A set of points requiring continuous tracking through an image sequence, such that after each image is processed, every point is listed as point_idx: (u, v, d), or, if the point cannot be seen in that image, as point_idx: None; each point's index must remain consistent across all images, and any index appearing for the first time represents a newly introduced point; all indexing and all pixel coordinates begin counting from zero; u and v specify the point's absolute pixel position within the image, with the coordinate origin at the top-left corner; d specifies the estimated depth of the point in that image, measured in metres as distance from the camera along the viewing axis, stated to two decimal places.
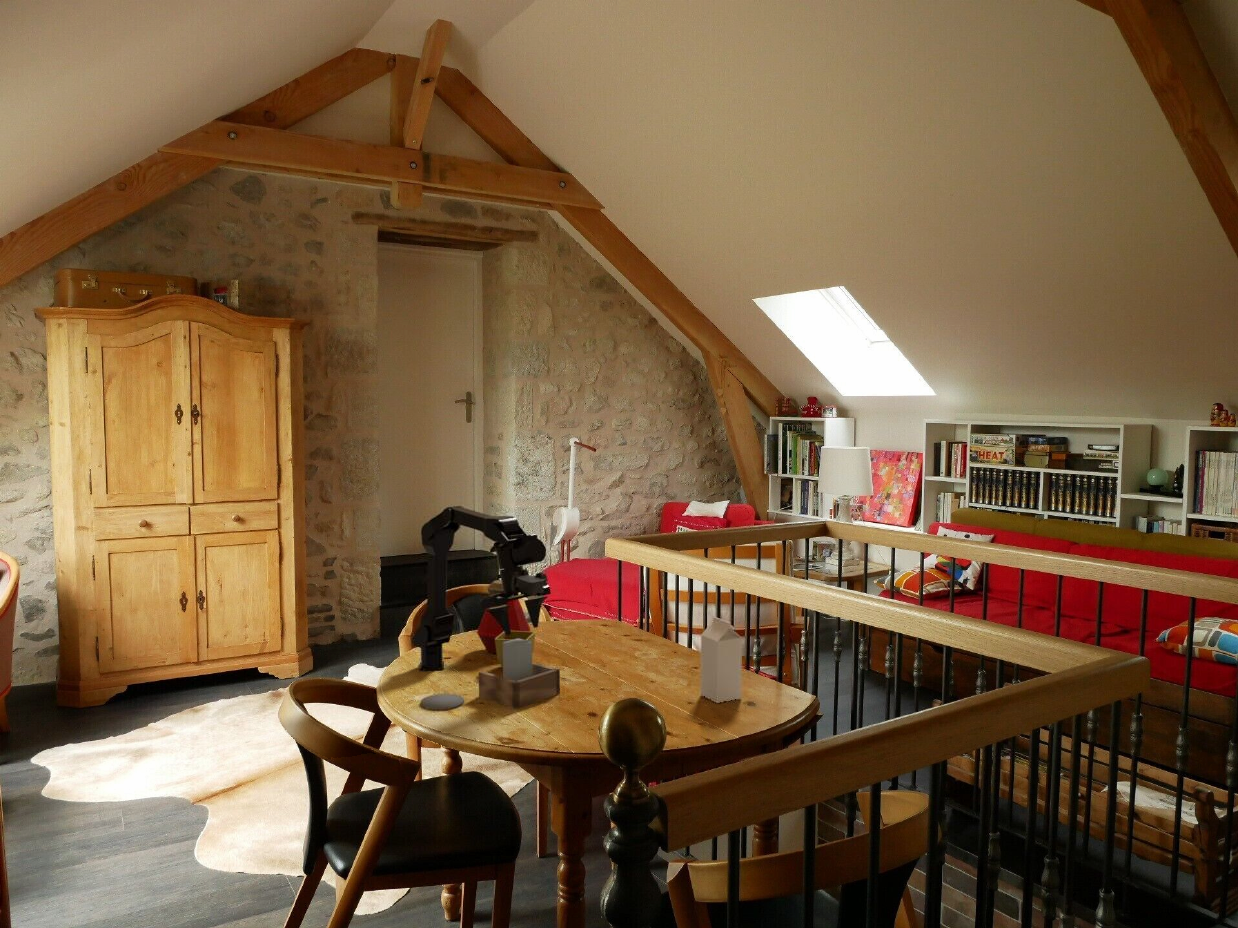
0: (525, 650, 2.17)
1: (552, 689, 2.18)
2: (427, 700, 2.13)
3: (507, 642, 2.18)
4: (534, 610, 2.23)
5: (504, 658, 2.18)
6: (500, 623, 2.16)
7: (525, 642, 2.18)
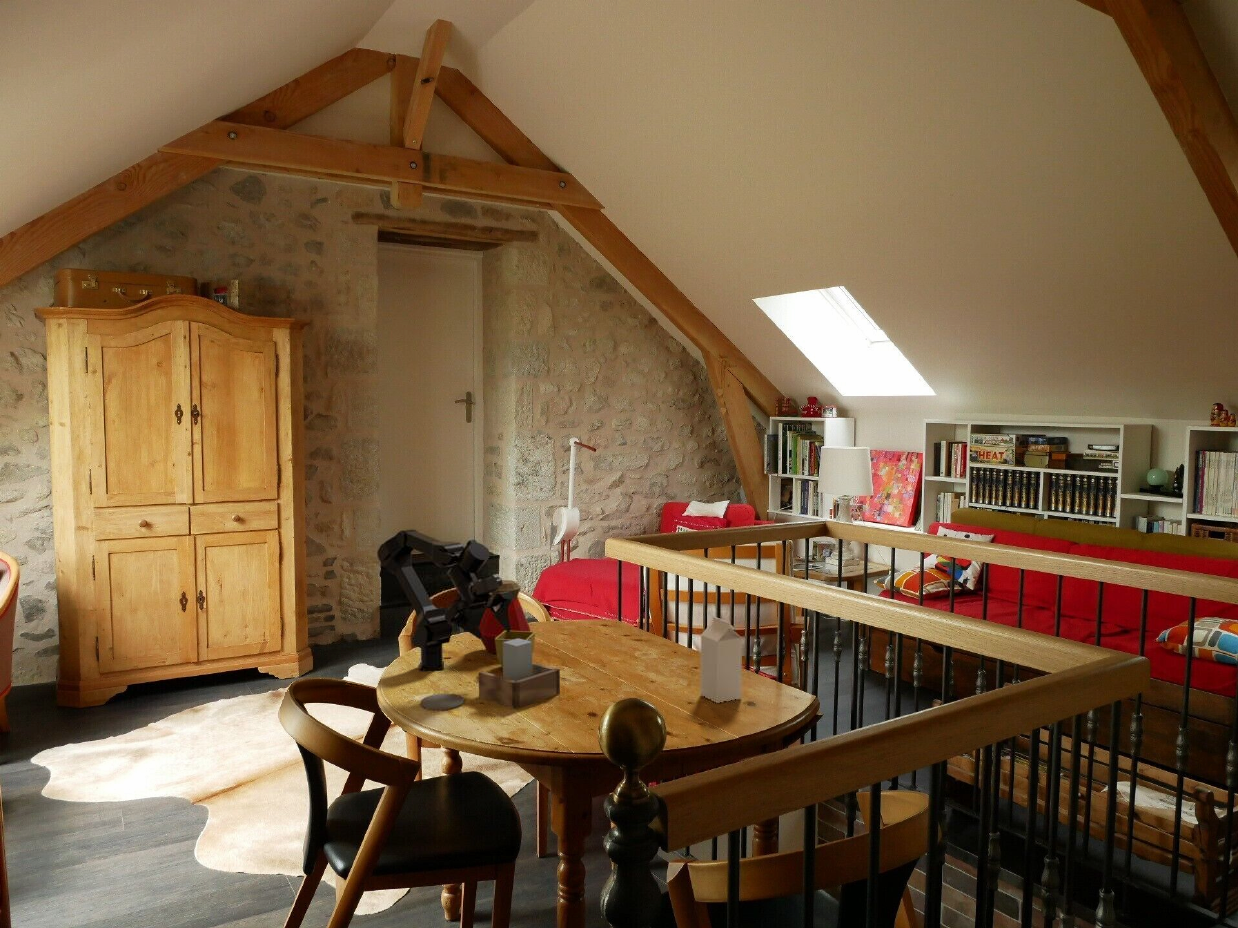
0: (525, 650, 2.17)
1: (552, 689, 2.18)
2: (427, 700, 2.13)
3: (507, 642, 2.18)
4: (502, 616, 2.29)
5: (504, 658, 2.18)
6: (470, 630, 2.21)
7: (525, 642, 2.18)
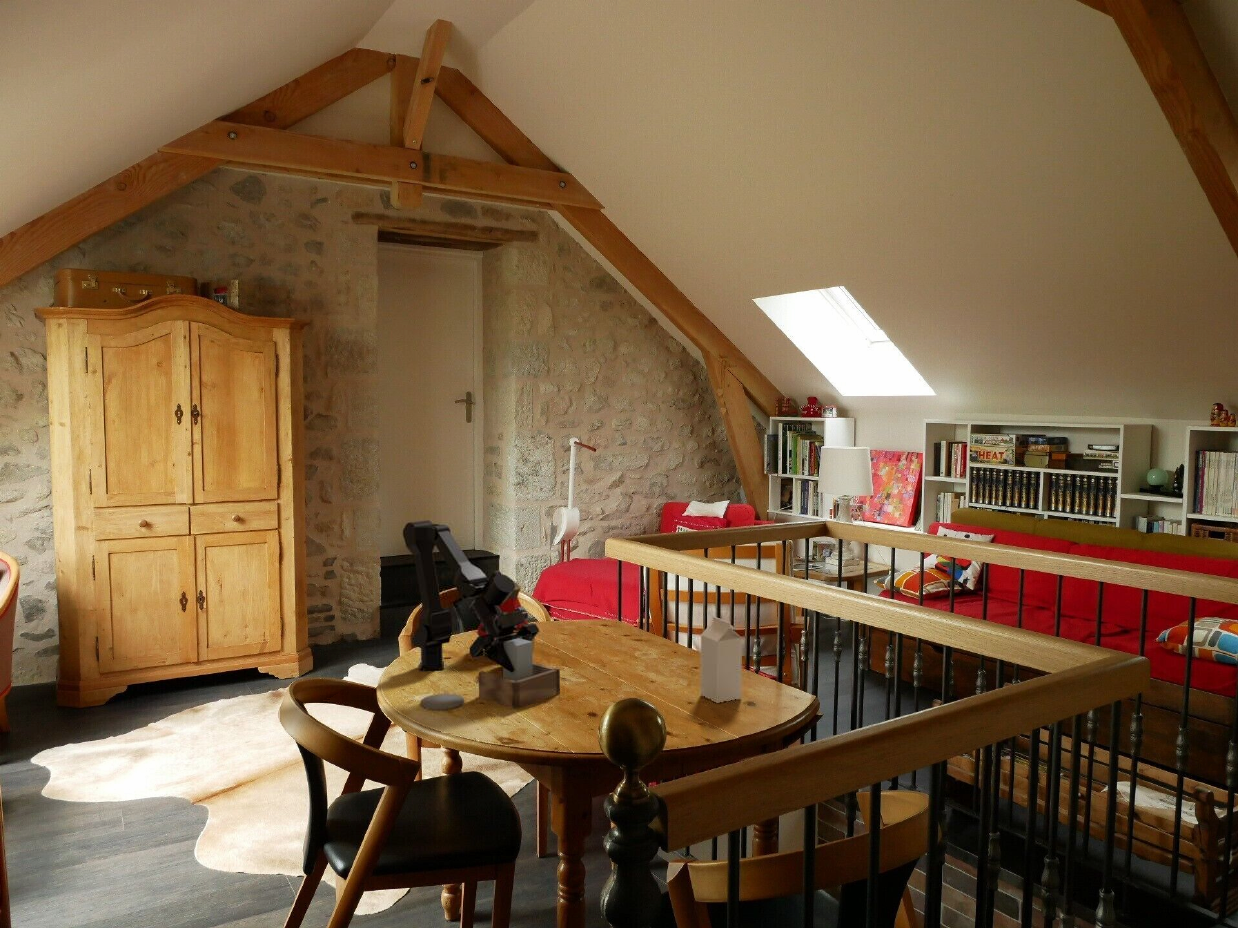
0: (525, 650, 2.17)
1: (552, 689, 2.18)
2: (427, 700, 2.13)
3: (507, 642, 2.18)
4: None
5: None
6: (501, 663, 2.17)
7: (525, 642, 2.18)
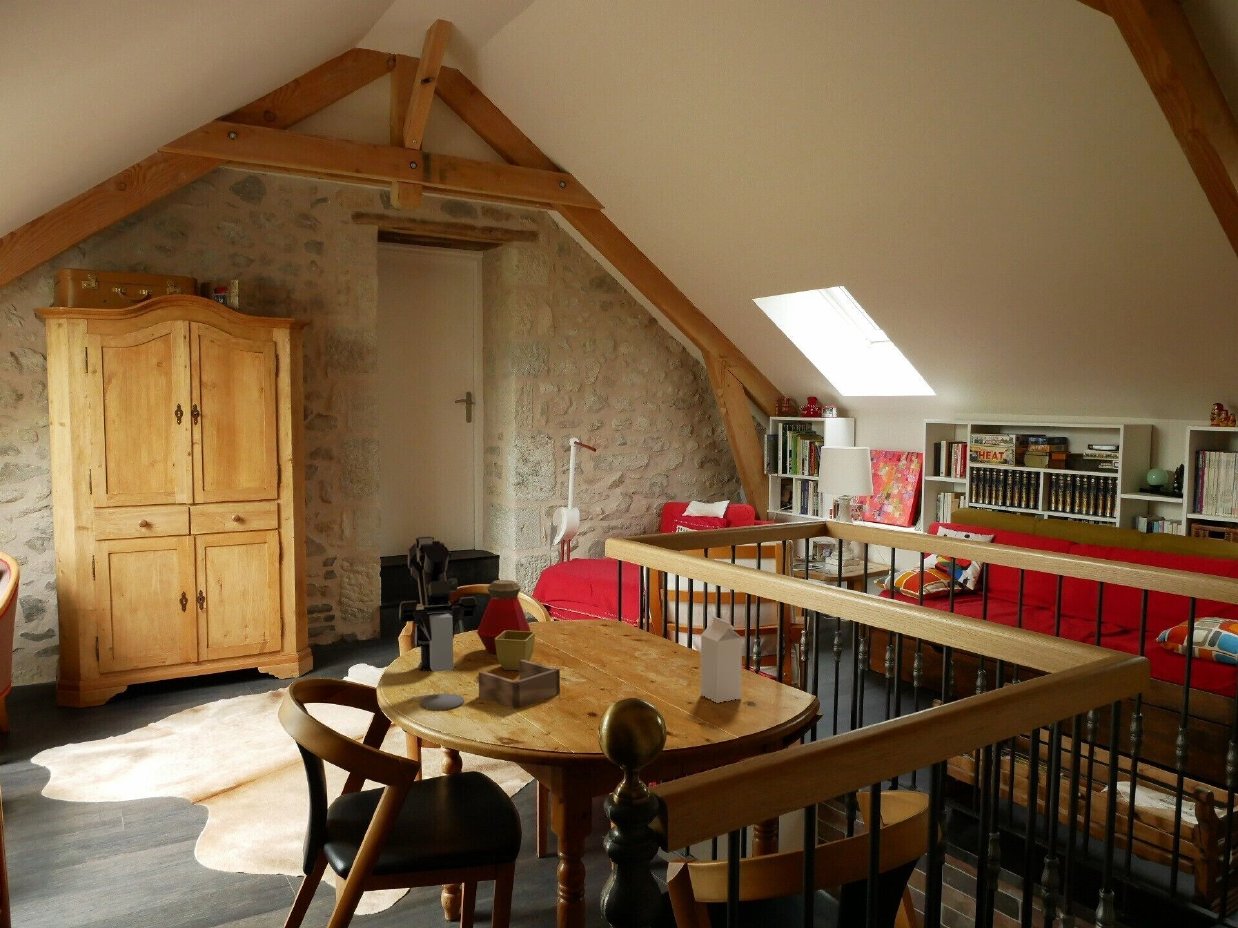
0: (443, 624, 2.19)
1: (552, 689, 2.18)
2: (427, 700, 2.13)
3: (432, 615, 2.22)
4: None
5: None
6: (424, 631, 2.22)
7: (445, 616, 2.20)
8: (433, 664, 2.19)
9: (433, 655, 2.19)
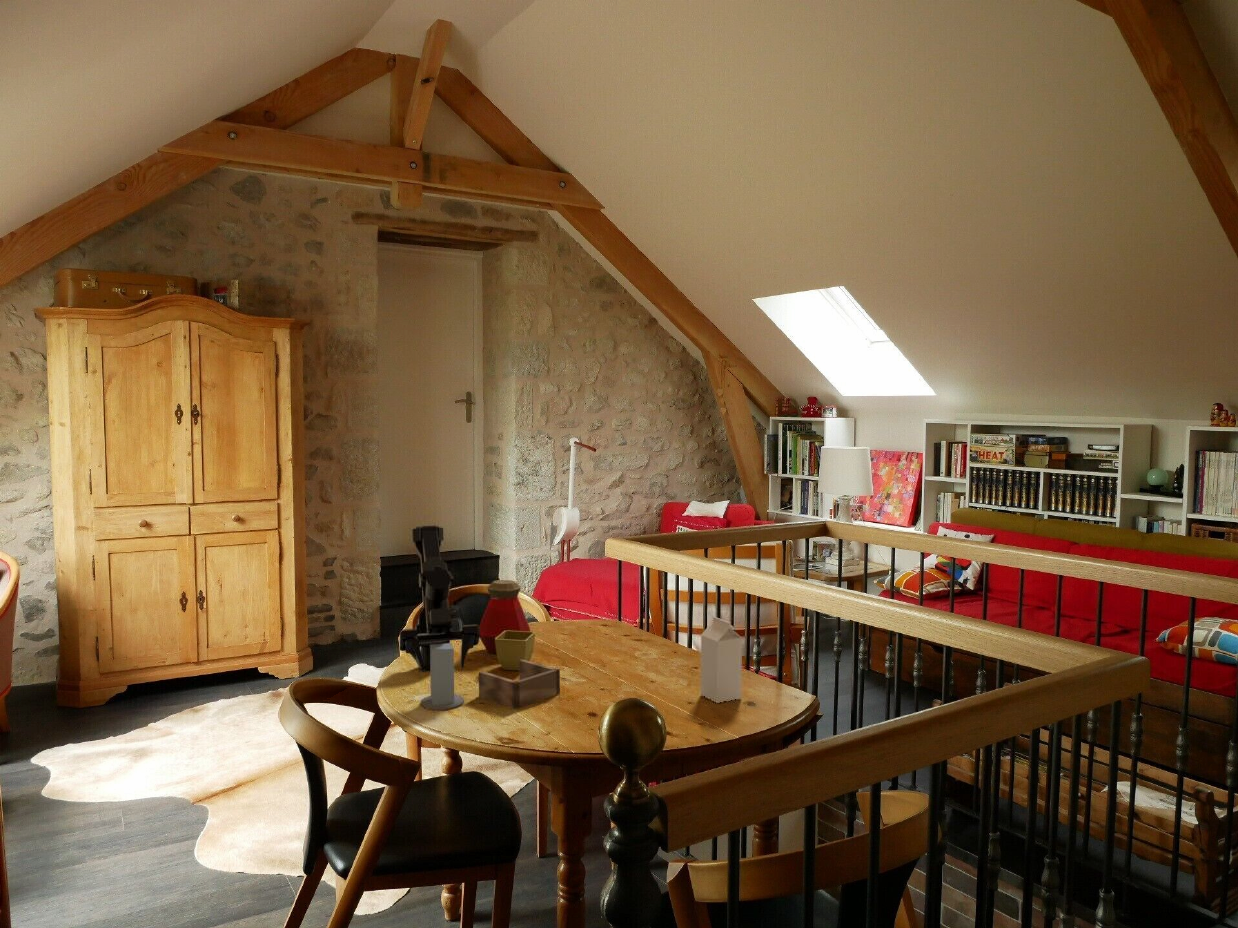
0: (444, 655, 2.10)
1: (552, 689, 2.18)
2: (427, 700, 2.13)
3: (433, 645, 2.13)
4: (461, 650, 2.15)
5: (430, 661, 2.14)
6: (416, 661, 2.12)
7: (447, 648, 2.11)
8: (433, 697, 2.10)
9: (433, 688, 2.10)
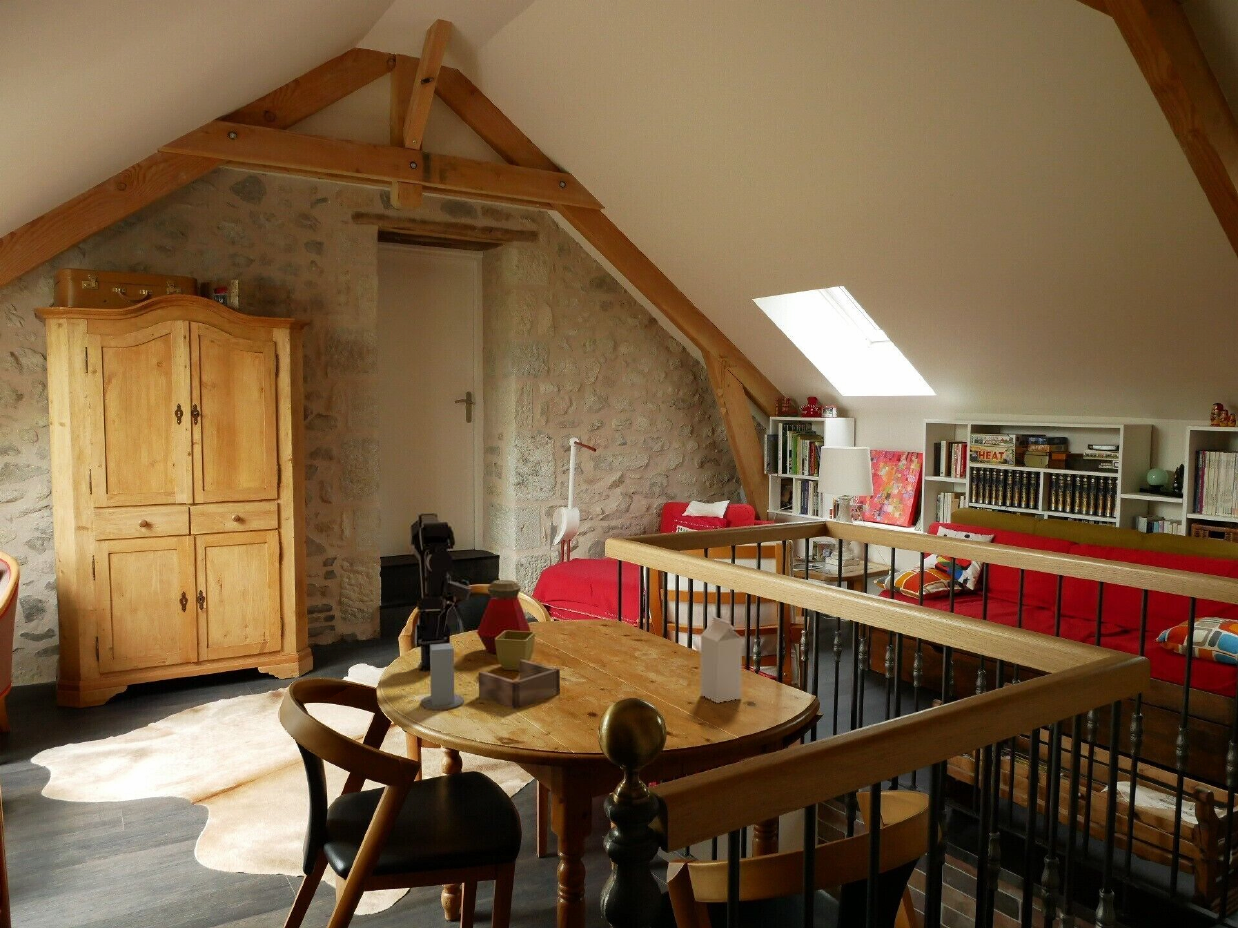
0: (444, 655, 2.10)
1: (552, 689, 2.18)
2: (427, 700, 2.13)
3: (433, 645, 2.13)
4: (442, 615, 2.31)
5: (430, 661, 2.14)
6: (429, 625, 2.20)
7: (447, 648, 2.11)
8: (433, 697, 2.10)
9: (433, 688, 2.10)
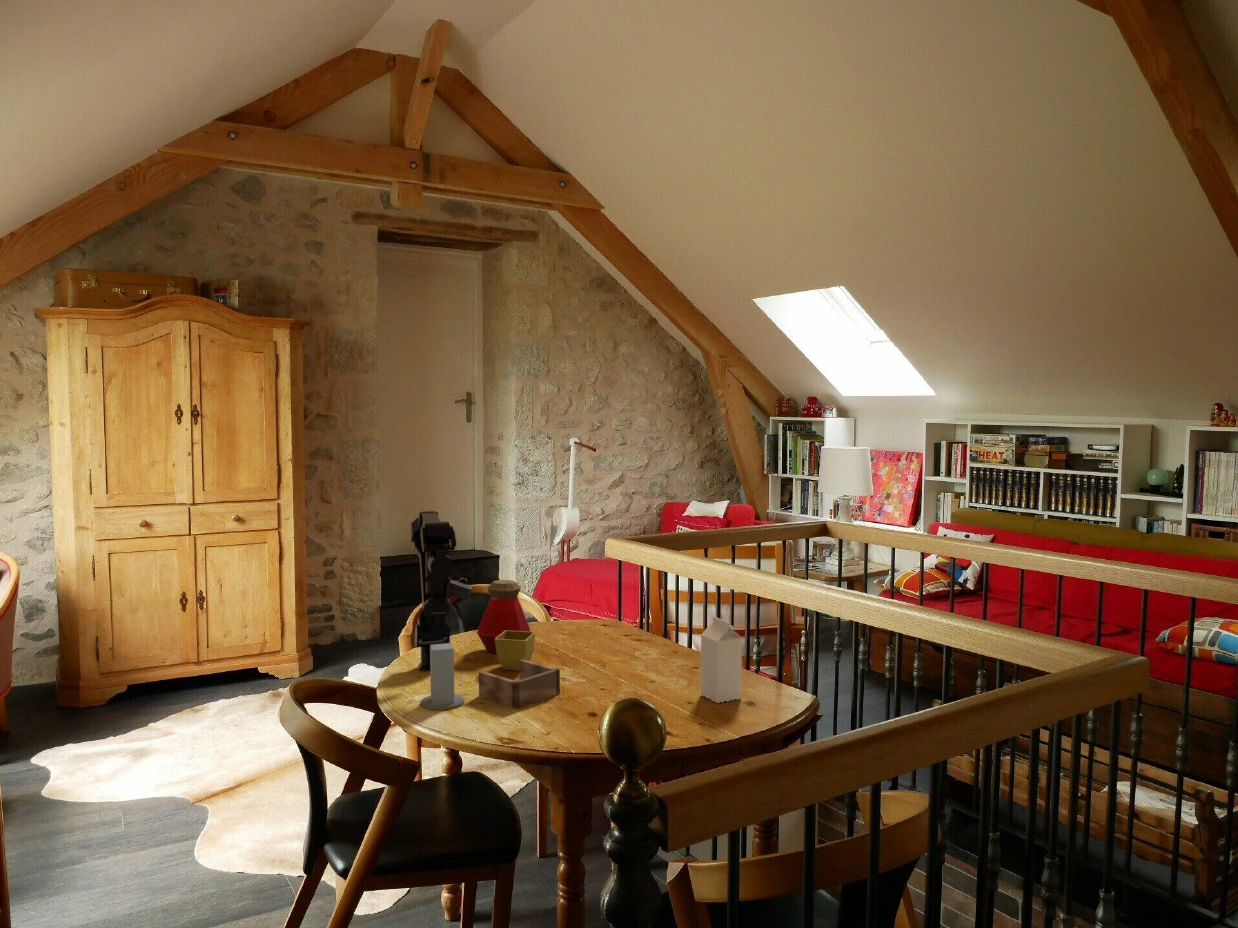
0: (444, 655, 2.10)
1: (552, 689, 2.18)
2: (427, 700, 2.13)
3: (433, 645, 2.13)
4: None
5: (430, 661, 2.14)
6: (433, 626, 2.21)
7: (447, 648, 2.11)
8: (433, 697, 2.10)
9: (433, 688, 2.10)
